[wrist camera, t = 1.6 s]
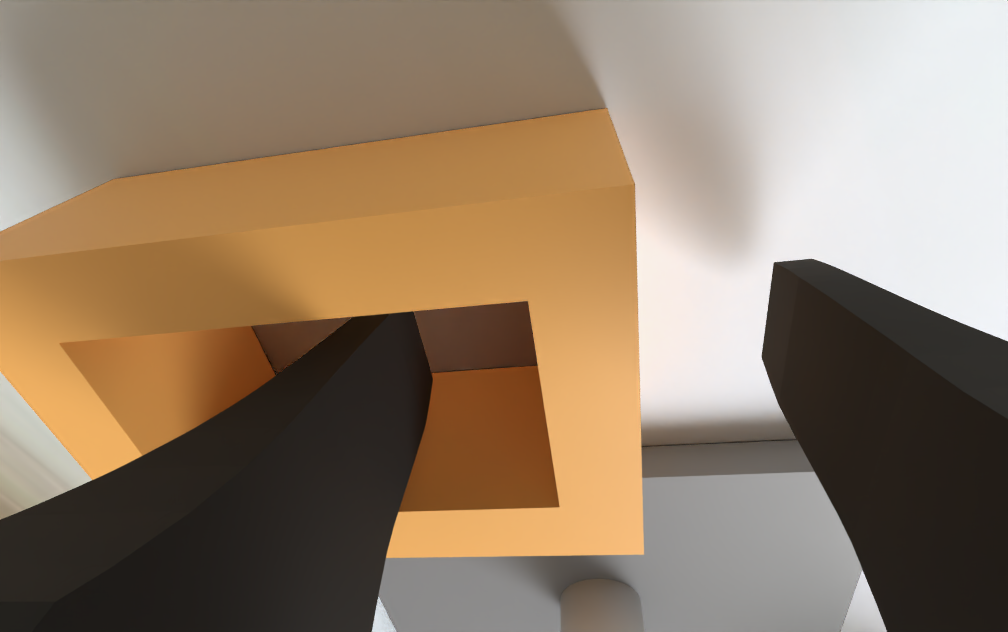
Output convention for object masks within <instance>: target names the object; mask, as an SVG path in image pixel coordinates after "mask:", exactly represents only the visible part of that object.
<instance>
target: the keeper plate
mask: <svg viewBox="0 0 1008 632" xmlns="http://www.w3.org/2000/svg"><path fill="white" fill-rule="evenodd" d="M641 453H642V493H643V533H644V555H572V556H498V557H424V558H386V560H385V565H384V570H383V575H382V580H381V585H380V590H379V597H380V599H381V601H382V603H383V605H384V607H385V609H386V611H387V613H388V615H389V617H390V619H391V621H392V623H393V625H394V627H395V629H396V631H397V632H840V631H841V628H842V625H843V623H844V620H845V617H846V614H847V611H848V608H849V606H850V603H851V600H852V597H853V594H854V591H855V588H856V586H857V583H858V580H859V577H860V574H861V571H862V567H861V565H860V562H859V560H858V557H857V555H856V552H855V550H854V548H853V545H852V543H851V541H850V539H849V537H848V535H847V533H846V530H845V528H844V526H843V524H842V522H841V520H840V518H839V516H838V514H837V512H836V510H835V509H834V507H833V505H832V503H831V501H830V499H829V498H828V496H827V494H826V492H825V490H824V488H823V486H822V485H821V483H820V481H819V479H818V477H817V475H816V474H815V472H814V470H813V468H812V466H811V464H810V463H809V461H808V459H807V457H806V455H805V453H804V451H803V450H802V448H801V446H800V444H799V442H798V440H786V441H764V442H741V443H719V444H696V445H674V446H651V447H641Z"/></svg>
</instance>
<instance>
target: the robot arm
mask: <svg viewBox="0 0 1008 632" xmlns="http://www.w3.org/2000/svg"><path fill="white" fill-rule="evenodd" d="M762 360H763V362H764V365H765V368H766V371H767V374H768V377H769V380H770V383H771V386H772V388H773V391H774V394H775V396H776V399H777V402H778V404H779V406H780V408H781V410H782V412H783V414H784V416H785V418H786V420H787V422H788V423H789V425H790V427H791V429H792V431H793V433H794V435H795V437H796V439H797V440H798V442H799V444H800V446H801V448H802V450H803V451H804V453H805V455H806V457H807V459H808V461H809V463H810V464H811V466H812V468H813V470H814V472H815V474H816V475H817V477H818V479H819V481H820V483H821V485H822V486H823V488H824V490H825V492H826V494H827V496H828V498H829V499H830V501H831V503H832V505H833V507H834V509H835V510H836V512H837V514H838V516H839V518H840V520H841V522H842V524H843V526H844V528H845V530H846V533H847V535H848V537H849V539H850V541H851V543H852V545H853V548H854V550H855V552H856V555H857V557H858V560H859V562H860V565H861V567H862V570H863V572H864V574H865V577H866V579H867V582H868V584H869V587H870V589H871V591H872V594H873V596H874V599H875V601H876V604H877V606H878V609H879V611H880V614H881V617H882V619H883V622H884V624H885V627H886V630H887V632H1008V341H1005V340H1003V339H1000V338H998V337H995V336H992V335H990V334H987V333H985V332H982V331H980V330H977V329H975V328H972V327H970V326H967V325H965V324H962V323H960V322H957V321H955V320H953V319H950V318H948V317H946V316H943V315H941V314H938V313H936V312H934V311H931V310H929V309H927V308H925V307H922V306H920V305H918V304H916V303H913V302H911V301H909V300H907V299H904V298H902V297H900V296H898V295H896V294H893V293H891V292H889V291H887V290H885V289H882V288H880V287H878V286H876V285H874V284H871V283H869V282H867V281H865V280H863V279H861V278H858V277H856V276H854V275H852V274H849V273H847V272H845V271H843V270H840V269H838V268H836V267H833V266H831V265H828V264H826V263H823V262H820V261H817V260H814V259H805V260H795V261H784V262H774V266H773V274H772V281H771V289H770V297H769V304H768V312H767V320H766V327H765V335H764V343H763V350H762ZM432 383H433V378H432V374H431V371H430V367H429V364H428V361H427V357H426V354H425V350H424V347H423V343H422V340H421V337H420V333H419V330H418V326H417V323H416V320H415V316H414V313H413V311H411V312H400V313H388V314H377V315H366V316H355V317H353V318H352V319H350V320H349V321H348V322H346V323H345V324H344V325H343V326H341V327H340V328H339V329H337V330H336V331H335V332H334V333H332V334H331V335H330V336H328V337H327V338H326V339H325V340H323V341H322V342H321V343H319V344H318V345H317V346H315V347H314V348H313V349H312V350H310V351H309V352H308V353H306V354H305V355H304V356H302V357H301V358H300V359H298V360H297V361H296V362H294V363H293V364H291V365H290V366H289V367H287V368H286V369H284V370H283V371H282V372H280V373H279V374H277V375H276V376H275V377H273V378H272V379H270V380H269V381H268V382H266V383H265V384H263V385H262V386H261V387H259V388H258V389H256V390H255V391H253V392H252V393H250V394H249V395H247V396H246V397H244V398H243V399H241V400H240V401H238V402H237V403H235V404H233V405H232V406H230V407H229V408H227V409H225V410H224V411H222V412H220V413H219V414H217V415H215V416H214V417H212V418H210V419H209V420H207V421H205V422H204V423H202V424H200V425H199V426H197V427H195V428H194V429H192V430H190V431H188V432H186V433H185V434H183V435H181V436H179V437H177V438H175V439H173V440H171V441H169V442H167V443H166V444H164V445H162V446H160V447H158V448H156V449H154V450H152V451H150V452H148V453H146V454H145V455H143V456H141V457H139V458H137V459H135V460H133V461H131V462H129V463H127V464H125V465H123V466H121V467H119V468H117V469H115V470H113V471H111V472H109V473H107V474H105V475H102V476H100V477H98V478H96V479H94V480H92V481H90V482H87V483H85V484H83V485H81V486H79V487H77V488H74V489H72V490H70V491H67V492H65V493H63V494H61V495H58V496H56V497H54V498H51V499H49V500H47V501H45V502H42V503H40V504H38V505H35V506H33V507H31V508H28V509H26V510H23V511H21V512H18V513H16V514H14V515H11V516H9V517H6V518H4V519H1V520H0V632H372V627H373V621H374V616H375V610H376V605H377V599H378V595H379V590H380V585H381V580H382V575H383V570H384V565H385V560H386V555H387V551H388V547H389V543H390V539H391V536H392V532H393V528H394V525H395V521H396V518H397V515H398V512H399V509H400V506H401V502H402V499H403V496H404V493H405V490H406V487H407V484H408V480H409V477H410V474H411V471H412V468H413V465H414V461H415V458H416V455H417V452H418V449H419V445H420V442H421V439H422V435H423V432H424V429H425V425H426V421H427V415H428V409H429V404H430V397H431V390H432Z"/></svg>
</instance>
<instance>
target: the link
mask: <svg viewBox="0 0 1008 632" xmlns="http://www.w3.org/2000/svg"><path fill="white" fill-rule="evenodd" d="M522 301H528V305H529V312H530V318H531V325H532V331H533V337H534V344H535V350H536V357H537V363H538V365H537V366H523V367H509V368H495V369H480V370H466V371H452V372H438V373H431V374H432V378H433V383H432V390H431V397H430V404H429V409H428V415H427V421H426V425H425V429H424V432H423V435H422V439H421V442H420V445H419V449H418V452H417V455H416V458H415V461H414V465H413V468H412V471H411V474H410V477H409V480H408V484H407V487H406V490H405V493H404V496H403V499H402V502H401V506H400V509H399V512H398V515H397V518H396V521H395V525H394V528H393V532H392V536H391V539H390V543H389V547H388V551H387V555H386V558H424V557H498V556H572V555H644V533H643V493H642V453H641V413H640V373H639V333H638V293H637V252H636V212H635V183H634V181H633V178H632V175H631V172H630V170H629V167H628V164H627V161H626V159H625V156H624V153H623V150H622V148H621V145H620V142H619V139H618V137H617V134H616V131H615V128H614V126H613V123H612V120H611V117H610V115H609V112H608V109H607V108H604V109H597V110H590V111H583V112H576V113H569V114H562V115H555V116H548V117H541V118H535V119H528V120H521V121H514V122H507V123H500V124H493V125H486V126H479V127H472V128H465V129H458V130H451V131H444V132H437V133H430V134H423V135H416V136H409V137H402V138H396V139H389V140H382V141H375V142H368V143H361V144H354V145H347V146H340V147H333V148H326V149H319V150H312V151H305V152H298V153H291V154H284V155H277V156H270V157H264V158H257V159H250V160H243V161H236V162H229V163H222V164H215V165H208V166H201V167H194V168H187V169H180V170H173V171H166V172H159V173H152V174H145V175H138V176H132V177H125V178H118V179H113V180H111V181H108V182H106V183H104V184H102V185H100V186H98V187H95V188H93V189H91V190H89V191H87V192H85V193H83V194H80V195H78V196H76V197H74V198H72V199H70V200H67V201H65V202H63V203H61V204H59V205H57V206H55V207H52V208H50V209H48V210H46V211H44V212H42V213H39V214H37V215H35V216H33V217H31V218H29V219H26V220H24V221H22V222H20V223H18V224H16V225H14V226H11V227H9V228H7V229H5V230H3V231H1V232H0V371H1V373H2V374H3V375H4V376H5V377H6V379H7V380H8V381H9V382H10V383H11V384H12V386H13V387H14V388H15V389H16V390H17V392H18V393H19V394H20V395H21V396H22V397H23V399H24V400H25V401H26V402H27V403H28V405H29V406H30V407H31V408H32V409H33V410H34V412H35V413H36V414H37V415H38V416H39V417H40V419H41V420H42V421H43V422H44V423H45V425H46V426H47V427H48V428H49V429H50V430H51V432H52V433H53V434H54V435H55V436H56V438H57V439H58V440H59V441H60V442H61V443H62V445H63V446H64V447H65V448H66V449H67V451H68V452H69V453H70V454H71V455H72V456H73V458H74V459H75V460H76V461H77V462H78V463H79V465H80V466H81V467H82V468H83V469H84V471H85V472H86V473H87V474H88V475H89V476H90V478H91V479H92V480H94V479H96V478H98V477H100V476H102V475H105V474H107V473H109V472H111V471H113V470H115V469H117V468H119V467H121V466H123V465H125V464H127V463H129V462H131V461H133V460H135V459H137V458H139V457H141V456H143V455H145V454H146V453H148V452H150V451H152V450H154V449H156V448H158V447H160V446H162V445H164V444H166V443H167V442H169V441H171V440H173V439H175V438H177V437H179V436H181V435H183V434H185V433H186V432H188V431H190V430H192V429H194V428H195V427H197V426H199V425H200V424H202V423H204V422H205V421H207V420H209V419H210V418H212V417H214V416H215V415H217V414H219V413H220V412H222V411H224V410H225V409H227V408H229V407H230V406H232V405H233V404H235V403H237V402H238V401H240V400H241V399H243V398H244V397H246V396H247V395H249V394H250V393H252V392H253V391H255V390H256V389H258V388H259V387H261V386H262V385H263V384H265V383H266V382H268V381H269V380H270V379H272V378H273V377H275V376H276V375H275V373H274V371H273V369H272V367H271V365H270V363H269V361H268V359H267V357H266V355H265V353H264V351H263V349H262V347H261V345H260V343H259V341H258V339H257V337H256V335H255V333H254V331H253V329H252V327H251V326H255V325H266V324H277V323H288V322H299V321H310V320H321V319H333V318H344V317H355V316H366V315H377V314H388V313H400V312H411V311H422V310H433V309H444V308H455V307H466V306H478V305H489V304H500V303H511V302H522Z"/></svg>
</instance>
